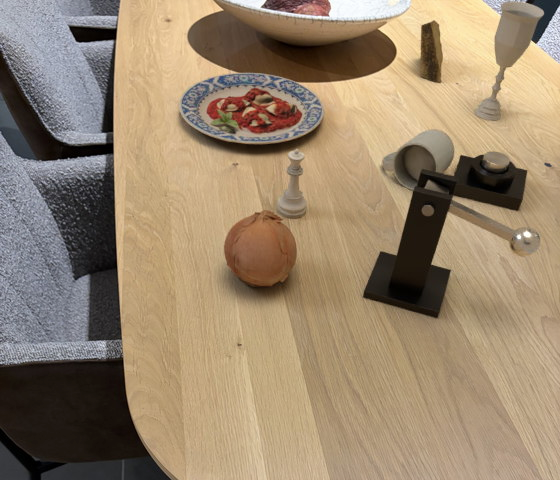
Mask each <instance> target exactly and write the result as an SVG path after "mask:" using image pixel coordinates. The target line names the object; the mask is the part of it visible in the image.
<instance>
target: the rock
mask: <svg viewBox="0 0 560 480" xmlns="http://www.w3.org/2000/svg"><path fill="white" fill-rule="evenodd" d="M440 30H441V29H440V23H438V22H437V21H436V20H431V21H430V22H427V23H424V24H421V25H420V76H421V77H422V78H425V79H427V80H429V81H432V82H438V83H439V84H440V83H441V82H442V64H443V61H444V54H443V48H442V47H443V46H442V42H441V31H440Z"/></svg>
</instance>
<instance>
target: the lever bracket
mask: <svg viewBox="0 0 560 480" xmlns="http://www.w3.org/2000/svg"><path fill="white" fill-rule="evenodd" d="M428 180H431V181H433V182H435V183H437V184H439V185H441V186H443V187H445V188H447V189H449V193H448V194H446V193H441V192H437V191H433V190H429V189H425V188H423V187H424V186H425V184H426V182H427V181H428ZM457 181H458V177H455V176H454V175H450V174H446V173H443V174H442V173H438V172H434V171H430V170H425V169H422V170H421V172H420V176H419V179H418V183H417V186H415V187H414V190H412V194H411V198H410V201H409V205H408V210H407V214H406V217H405V221H404V225H403V229H402V233H401V237H400V240H399V245H398V248H397V252H396V254H393V253H390V252H386V251H382V250H380V251H379V253H378V256H377V259H376V261H375V264H374V266H373V268H372V271H371V273H370V275H369V277H368V280H367V283H366V285H365V288H364V290H363V293H362V294H363V295H362V298H363V299H367V300H370V301H374V302H378V303H382V304H385V305H388V306H392V307H395V308H399V309H403V310H407V311H410V312H413V313H416V314H420V315H423V316H427V317H431V318H435V319H438V318H439V315H440V312H441V309H442V305H443V301H444V297H445V294H446V290H447V287H448V283H449V280H450V275H451V273H452V269H449V268H446V267H442V266H438V265H434V264H433V261H434V258H435V254H436V251H437V248H438V245H439V241H440V238H441V235H442V232H443V229H444V226H445V223H446V219H447V217H448V213H449V212H448V210H449V207H450V204H451V201H452V200H453V198H454V195H453V194H454V191H455V188H456V185H457Z"/></svg>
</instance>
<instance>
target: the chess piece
mask: <svg viewBox="0 0 560 480" xmlns="http://www.w3.org/2000/svg"><path fill="white" fill-rule="evenodd" d="M287 158H288V160H289V161H290V164H289V166H287V167H286V174H287V175H289V181H288V185H287V188H286V189H285V190H284V191H283V194H282V195H280V196H279V198H278V200H277V206H276V209H277V212H278V214H279V215H280V216H282V217H284V218H287V219H299V218H302V217H303V216H305V214H306V213H307V203H308V202H307V200H306V198H305V197H304V196H303V192H302V191H301V190H300V177H301V176H302V175H304V168H303V167H302V166H301V163H302V162H303V160H304V159H305V158H306V157H305V153H303V151H300V150H299V149H298V148H295V149H294V150H291V151H289V152H288V153H287Z"/></svg>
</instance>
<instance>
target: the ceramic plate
mask: <svg viewBox="0 0 560 480" xmlns="http://www.w3.org/2000/svg"><path fill="white" fill-rule="evenodd" d="M178 109H179V113H180V115H181V117H182V118H183V119H184V121H185V122H186V123H187V124H188V125H189V126H191V127H192V128H193V129H195V130H197V131H199V133H202V134H204V135H206V136H209V137H211V138H215V139H217V140H221V141H225V142H229V143H238V144H243V145H268V144H279V143H283V142H288V141H293V140H295V139H299V138H301V137H303V136H305V135H307V134H309V133H311V132H312V131H313V130H315V129H316V128H318V126H319V125H320V124H321V122H322V121H323V119H324V115H325V106H324V104H323V101H322V100H321V98H320V97H319V96H318V95H317V94H316V92H314V91H312V90H311V89H310V88H308V87H307V86H305V85H303V84H301V83H299V82H297V81H294V80H292V79H289V78H287V77H286V78H285V77H282V76H278V75H274V74H267V73H259V72H233V73H225V74H220V75H219V74H218V75H214V76H211V77H208V78H205V79H203V80H200V81H197V82H195V83H194V84H191V86H189V87H188V88H187V89H186V90H185V91H184V92H183V93H182V95H181V96H180V98H179V102H178Z"/></svg>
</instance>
